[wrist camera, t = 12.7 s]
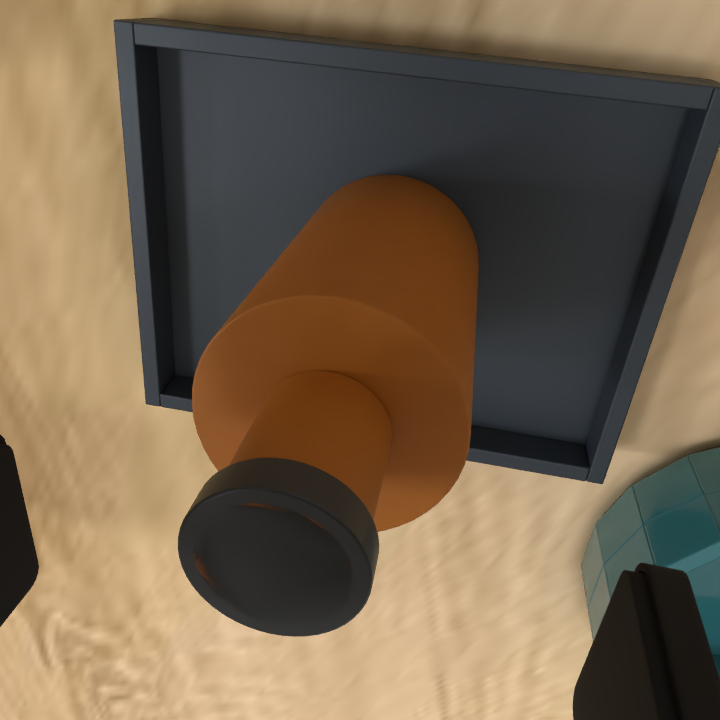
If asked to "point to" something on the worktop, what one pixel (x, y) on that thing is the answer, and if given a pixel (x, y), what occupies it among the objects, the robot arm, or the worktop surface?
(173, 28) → the tray
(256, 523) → the bottle
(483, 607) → the worktop surface
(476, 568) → the worktop surface
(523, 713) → the worktop surface
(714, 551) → the bowl
